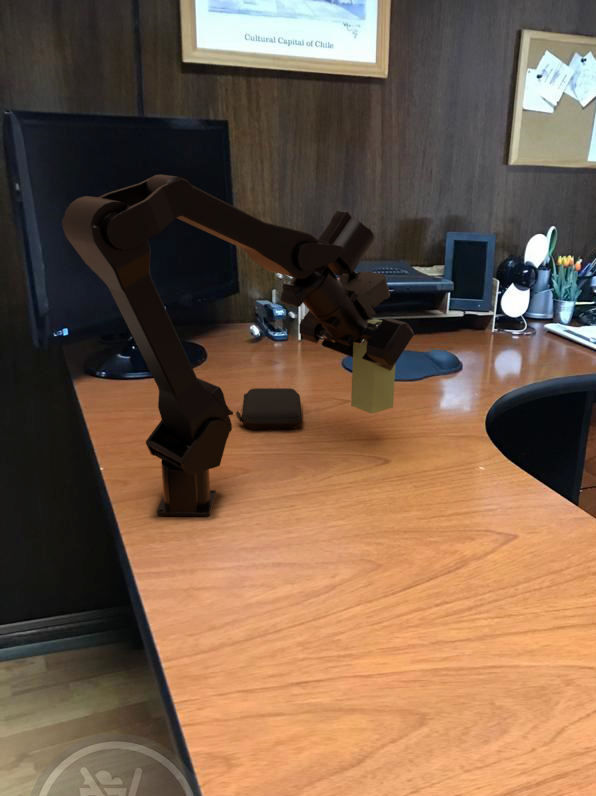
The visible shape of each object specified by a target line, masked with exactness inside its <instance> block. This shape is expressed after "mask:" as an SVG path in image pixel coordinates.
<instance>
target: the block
mask: <svg viewBox="0 0 596 796" xmlns="http://www.w3.org/2000/svg"><path fill="white" fill-rule="evenodd" d="M379 321H380V322H382V321H383V320H381V319H379V318H378V319H377V318H372V319H371V320H370V319H369V320H368V321H367V322H368V323H371V324H375V323H377V322H379ZM366 348H367V343H366V340H365V341H364V343H363V344H362V345H360V344H357V343H353V358H352V368H351V369H352V371H351V374H352V375H351V398H350V399H351V402H350V406H351V407H353V408H356V409H359V410H361V411H363V412H366V413H369V414H372V415H373V414H376V413H379V412H383V411H386V410H390V409H392V408H393V407H394V401H395V400H394V399H395V397H394V396H395V380H396V379H395V378H396V377H395V376H396V363H395V364H394V367H393V368H392V370H391V371H390V370H387V369H385V368H383V367H380V366H378V365H376V364H373V363H371V362H369V361H366V360H364V359H362V357H363V356H364V354H365V353H366Z"/></svg>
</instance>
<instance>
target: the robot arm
mask: <svg viewBox="0 0 596 796" xmlns="http://www.w3.org/2000/svg"><path fill="white" fill-rule="evenodd" d="M175 219H178V220H180V221H182V222H184V223H186V224H188V225H190V226H193V227H196V228H197V229H199V230H202V231H203V232H206V233H208V234H210V235H211V236H214V237H216V238H219V239H221V240H223V241H225V242H227V243H230V244H231V245H234V246H237V247H238V248H239V249H241V250H242V251H243V252H245V253H246V254H247V256H248V257H249V258H250V259H251V260H252V261H254V262H255V263H256V264H258V265H259V266H260V267H262V268H263V269H264V270H266V271H268V272H271V273H276V274H279V275H283V276H288V277H291V279H290V281H289V282H287V283H283V284H282V291H281V294H280V302H281V303H283V304H286V305H290V306H292V307H297V308H300V307H301V306H302V305H304V306H305V307H306V308H307V310H308V311H307V313H306V314H305V315H304V317H303V318H302V320H301V321H300V322H299V324H298V325H299V328H298V329H299V331H298V333H299V334H300V335H301V337H302V338H303V339H304V340H305V341H307V342H311V343H314V344H318V343H319V341H320V339H321V338H322V342H321V346H322V347H324V348H327V349H329V350H332V351H334V352H337V353H338V354H339V353H340V354H341V355H344V356H348V357H350V358H352V359H353V343H357V344H360V345H362V344H363V343H364V341H365V340H366V343H367V348H366V353H365V354H364V356H363V357H362V359H364V360H366V361H369V362H371V363H373V364H376V365H378V366H380V367H383V368H385V369H387V370H390V371H391V370H392V368H393V367H394V364H395V365H396V364H397V361H398V360H399V359H400V357H401V355H402V354H403V352H404V351H405V349H406V347H408V344H409V343H410V342H411V340H412V338H413V337H414V335H415V333H414V330H413V328H412V327H411V326H410V324H409V323H408V322H405V321H402V320H398V319H394V318H384V319H382V320H381V321H382V322H380V321H379V322H377V323H375V324H371V323H368V322H367V321H368V320H373V319H374V316H375V315H376V311H375V310H374V309H375V308H376V307H377V306H378V305H380V304H381V303H382V302H383V301H385V300H388V299H389V298H390V297H391V292H390V288H389V285H388V281H387V278H386V275H385V274H382V273H378V272H373V271H368V270H367V271H360V270H358V271H357V272H356V269H357V267H359V265H360V263H361V261H362V260H363V259H364V257H365V255H366V254H367V253H368V251H369V250H370V248H371V247H372V245H373V244H374V242H375V240H376V237H375V234H374V232H373V231H372V230H371V229H370V227H367V226H366V225H364V224H363V222H361V221H360V220H358V219H356V218H354V217H352V216H351V214H350V213H349V211H344V210H336V212H335V213H334V214H333V215H332V217H331V219H330V221H329V223H328V224H327V226H326V227H325V229H324V230H323V231H322V233H321V234H320V236H319V237H318V239H317V238H316V237H315V236H314V235H313V234H312V233H309V232H306V231H301V230H298V229H294V228H289V227H285V226H282V225H277V224H273V223H269V222H266V221H263V220H261V219H259V218H257V217H256V216H253V215H252V214H250V213H247V212H246V211H244V210H242V209H240V208H238V207H236V206H235V205H232V204H230V203H227V202H226V201H224V200H222V199H221V198H218V197H216V196H214V195H212V194H210V193H209V192H206V191H204V190H202V189H200V188H199V187H196V186H194V185H193V184H191V183H190V182H189V181H188V180H187V179H186V178H184V177H180V176H175V175H169V174H168V175H167V174H155V175H153V176H151V177H149V178H147V179H145V180H143V181H141V182H139V183H136V184H132V185H129V186H125V187H122V188H120V189H116V190H113V191H110V192H107V193H105V194H103V195H100V196H98V197H97V196H88V195H85V196H81V197H78V198H76V199H75V200H73V201H72V202H71V203H69V206H68V207H67V208H66V210H65V212H64V216H63V219H62V220H61V223H62V229H63V232H64V235H65V237H66V239H67V241H68V242H69V243H70V244H71V246H72V247H73V248H74V250H75V251H76V252H77V254H78V255H79V257H80V258H81V260H82V261H83V262H84V263H85V264H86V265H87V266H88V267H89V268H90V269H91V271H93V273H95V275H97V276H98V277H99V278H100V280H101V281H103V283H104V284H105V285H106V287H108V290H109V291H110V293H111V296H112V298H113V299H114V301H115V304H116V306H117V307H118V310H119V312H120V313H121V315H122V318H123V319H124V321H125V324H126V325H127V328H128V329H129V332H130V334H131V336H132V337H133V340H134V342H135V343H136V345H137V346H136V347H138V349H139V352H140V354H141V356H142V358H143V360H144V363H145V364H146V366H147V368H148V370H149V372H150V374H151V376H152V378H153V380H154V382H155V384H156V386H157V388H158V399H157V400H158V401H157V409H158V411H159V415H160V417H161V420H160V421H159V423H158V424H157V425H156V426H155V428H154V430H153V431H152V432H151V433H150V435H149V436H148V437H147V439H146V440H145V445H146V447H147V449H148V451H149V453H150V455H152V456H154V457H156V458H159V460H161V461H160V463H161V476H162V477H161V478H162V492H163V494H162V498H161V500H160V502H159V505H158V507H157V509H156V515H157V516H160V517H161V516H163V517H164V516H169V517H171V516H172V517H173V516H175V517H177V516H179V517H181V516H182V517H184V516H185V517H209V516H210V515H211V513H212V509H213V507H214V503H215V500H216V497H217V491H216V490H215V489H214V490H213V489H211V487H210V484H211V483H210V470H211V469H215V468H218V467H220V465H221V463H222V459H223V456H224V452H225V448H226V445H227V442H228V441H227V440H228V439H229V435H230V433H231V432H232V429H233V424H232V419H231V417H230V416H233V415H234V411H232V410H231V409H230V408H229V406H228V405H227V402H226V397H225V395H224V392H223V390H222V388H221V387H220V386H218V385H215V384H213V383H211V382H208V381H207V380H203V379H202V378H199V377H197V375H196V373H195V371H194V369H193V368H194V367H193V366H192V364H191V361H190V360H189V357H188V354H187V352H186V350H185V349H184V346H183V344H182V341H181V340H180V338H179V335H178V333H177V330H176V329H175V326H174V324H173V322H172V319H171V318H170V316H169V314H168V311H167V309H166V306H165V305H164V302H163V300H162V298H161V296H160V294H159V292H158V289H157V287H156V284H155V283H154V280H153V278H152V274H151V246H150V242H149V239H151V238H153V237H154V236H157V235H158V234H160V233H162V232H163V231H164V230H165V229H166V228H167V227H168V226H169V225H170V224H171V223H172V222H173V221H174V220H175ZM337 276H339V278H338V277H337Z"/></svg>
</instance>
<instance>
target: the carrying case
mask: <svg viewBox="0 0 596 796" xmlns="http://www.w3.org/2000/svg"><path fill="white" fill-rule="evenodd" d="M235 416H236V418H237V420H238V421H239V422H240V423H243V424H245V426H246V427H247V428H249V429H251V430H292V429H293V430H294V429H296V428H298V427H299V425H300V424H302V422H303V411H302V402H301V395H300V394H299V393H298V392H297V391H296V389H294V388H290V387H285V388H283V387H282V388H280V387H279V388H278V387H276V388H275V387H273V388H271V387H269V388H267V387H266V388H262V387H261V388H259V387H258V388H257V387H255V388H250V389H249V390H248V391H247V392H246V393H243V402H242V410H241V413H240V412H239V411H238V410H236V412H235Z"/></svg>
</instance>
